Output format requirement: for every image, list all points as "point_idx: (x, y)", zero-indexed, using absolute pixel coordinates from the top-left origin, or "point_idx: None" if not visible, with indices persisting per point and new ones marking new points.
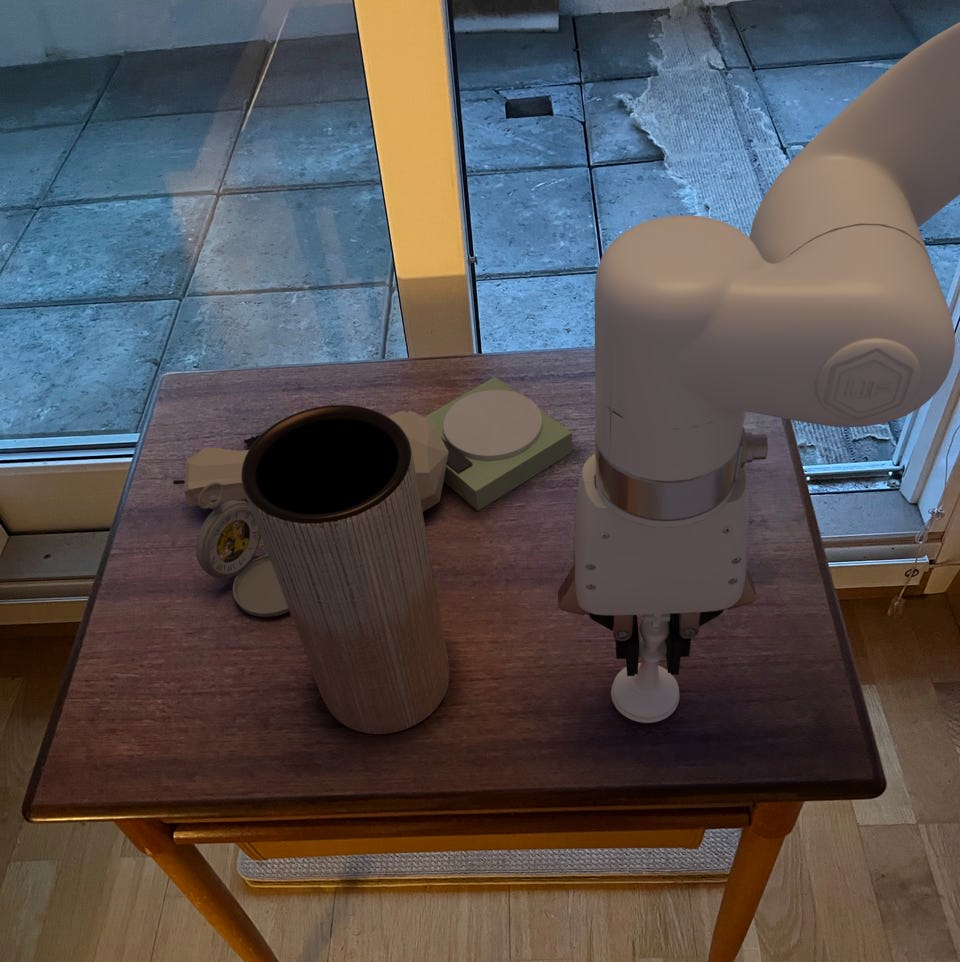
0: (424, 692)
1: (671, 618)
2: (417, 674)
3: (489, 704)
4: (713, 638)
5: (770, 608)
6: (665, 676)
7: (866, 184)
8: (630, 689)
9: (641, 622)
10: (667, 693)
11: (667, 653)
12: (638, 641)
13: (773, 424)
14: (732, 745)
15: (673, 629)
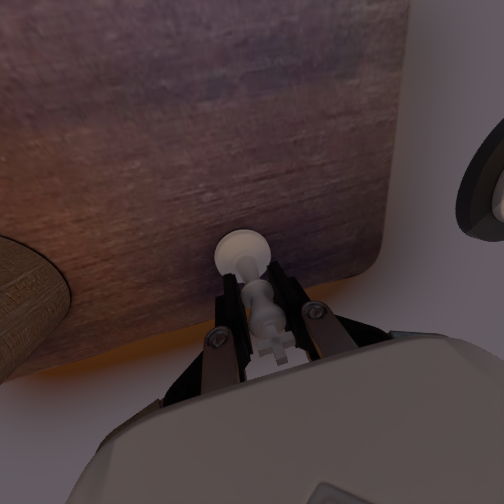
0: (40, 338)
1: (291, 318)
2: (5, 375)
3: (115, 283)
4: (293, 171)
5: (347, 119)
6: (259, 247)
7: None
8: (232, 270)
9: (250, 323)
10: (262, 263)
11: (274, 297)
12: (252, 353)
13: None
14: (303, 267)
15: (295, 338)
